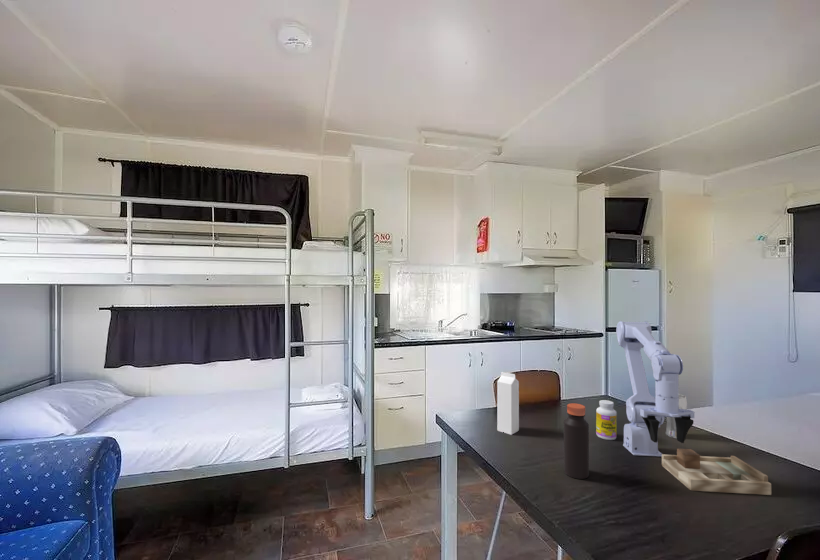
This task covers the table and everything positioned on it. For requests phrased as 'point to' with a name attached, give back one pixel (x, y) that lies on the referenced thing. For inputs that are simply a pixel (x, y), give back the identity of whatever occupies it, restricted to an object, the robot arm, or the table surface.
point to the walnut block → (688, 458)
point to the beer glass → (671, 420)
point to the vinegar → (576, 442)
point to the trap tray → (719, 475)
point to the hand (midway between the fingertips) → (667, 441)
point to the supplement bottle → (606, 420)
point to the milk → (507, 403)
